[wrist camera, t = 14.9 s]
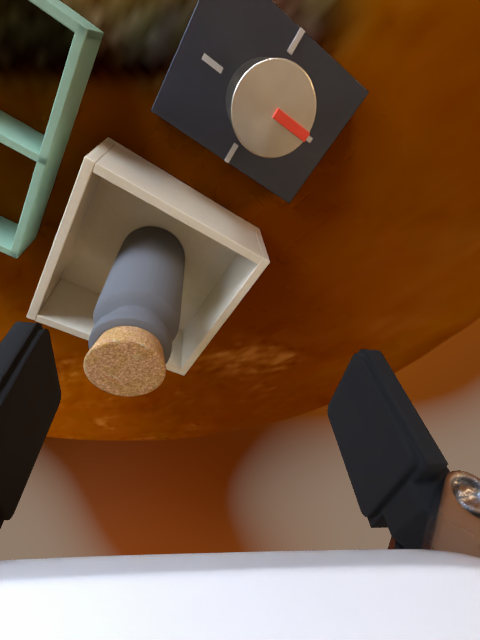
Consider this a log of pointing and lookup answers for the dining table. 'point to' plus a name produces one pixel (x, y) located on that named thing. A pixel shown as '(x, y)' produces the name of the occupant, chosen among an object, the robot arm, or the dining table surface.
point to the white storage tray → (135, 212)
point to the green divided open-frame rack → (49, 127)
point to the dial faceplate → (222, 62)
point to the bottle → (137, 314)
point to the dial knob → (271, 106)
